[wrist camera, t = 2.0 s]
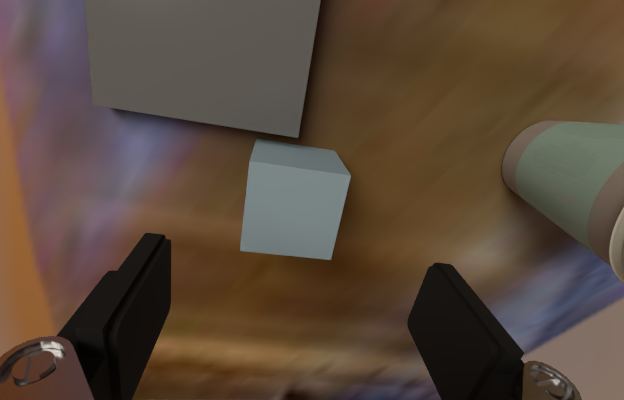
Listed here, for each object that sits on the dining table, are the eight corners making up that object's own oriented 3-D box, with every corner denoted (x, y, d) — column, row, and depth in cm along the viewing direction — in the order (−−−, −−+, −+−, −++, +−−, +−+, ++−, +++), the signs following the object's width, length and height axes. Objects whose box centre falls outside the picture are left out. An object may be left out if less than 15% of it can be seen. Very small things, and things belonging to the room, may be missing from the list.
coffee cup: (543, 223, 27) (729, 337, 16) (462, 187, 24) (611, 289, 13) (617, 128, 24) (907, 185, 13) (532, 79, 22) (792, 95, 11)
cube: (320, 219, 24) (330, 260, 19) (248, 210, 24) (239, 250, 19) (334, 150, 22) (351, 175, 17) (256, 138, 22) (249, 161, 17)
